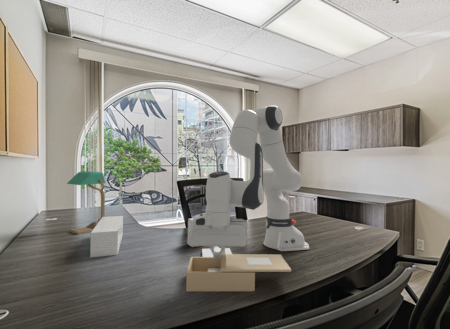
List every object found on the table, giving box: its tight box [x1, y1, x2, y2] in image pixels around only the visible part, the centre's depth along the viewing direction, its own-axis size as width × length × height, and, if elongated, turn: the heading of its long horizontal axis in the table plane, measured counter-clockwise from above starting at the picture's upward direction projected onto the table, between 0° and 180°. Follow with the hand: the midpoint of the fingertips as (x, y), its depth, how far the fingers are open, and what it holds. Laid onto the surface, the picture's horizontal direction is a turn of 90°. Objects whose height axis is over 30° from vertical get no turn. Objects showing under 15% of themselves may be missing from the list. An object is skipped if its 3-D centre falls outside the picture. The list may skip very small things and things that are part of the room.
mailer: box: [185, 256, 256, 292], centre depth 83 cm, size 22×13×6 cm, turn 92°
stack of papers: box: [89, 215, 124, 258], centre depth 119 cm, size 32×11×11 cm, turn 19°
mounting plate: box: [201, 246, 233, 257], centre depth 105 cm, size 18×13×2 cm
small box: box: [187, 217, 198, 248], centre depth 121 cm, size 8×6×13 cm
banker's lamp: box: [66, 170, 106, 235], centre depth 143 cm, size 16×21×35 cm
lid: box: [221, 250, 292, 273], centre depth 84 cm, size 23×13×3 cm, turn 92°
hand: (217, 258), depth 83 cm, fingers closed
